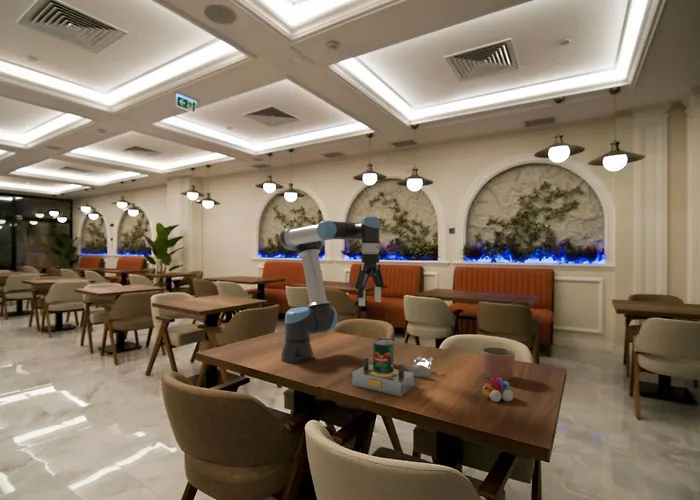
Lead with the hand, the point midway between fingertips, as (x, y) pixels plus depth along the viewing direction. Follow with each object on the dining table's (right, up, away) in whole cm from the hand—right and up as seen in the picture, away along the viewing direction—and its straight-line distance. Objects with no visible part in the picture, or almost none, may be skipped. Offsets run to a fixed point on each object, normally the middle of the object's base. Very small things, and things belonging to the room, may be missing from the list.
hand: (370, 303), depth 157 cm
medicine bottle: (+7, -29, +9) cm, 31 cm away
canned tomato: (+4, -23, -16) cm, 28 cm away
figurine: (+22, -29, -2) cm, 36 cm away
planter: (+51, -29, -7) cm, 59 cm away
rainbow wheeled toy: (+43, -29, -27) cm, 59 cm away
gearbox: (+4, -29, -16) cm, 33 cm away
